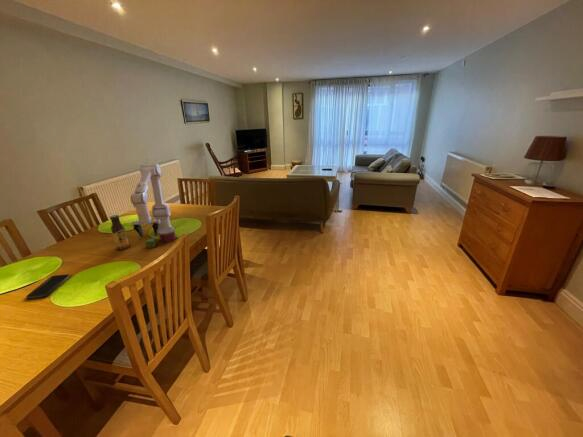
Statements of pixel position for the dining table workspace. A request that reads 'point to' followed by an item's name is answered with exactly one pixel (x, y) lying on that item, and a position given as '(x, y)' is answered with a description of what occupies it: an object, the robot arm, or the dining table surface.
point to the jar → (167, 234)
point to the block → (151, 243)
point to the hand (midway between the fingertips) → (149, 235)
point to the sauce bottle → (119, 233)
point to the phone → (48, 287)
